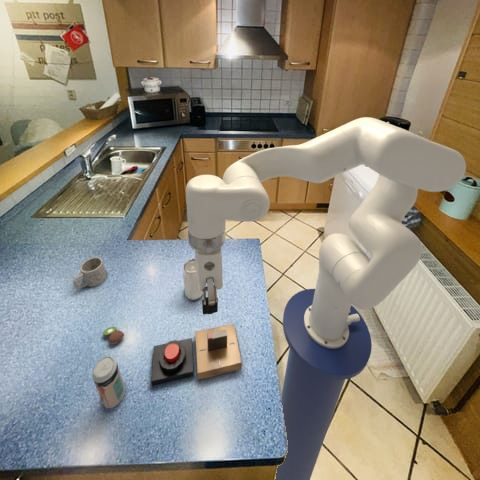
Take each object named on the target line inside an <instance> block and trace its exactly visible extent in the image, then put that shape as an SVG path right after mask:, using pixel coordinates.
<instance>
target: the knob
mask: <svg viewBox="0 0 480 480" xmlns="http://www.w3.org/2000/svg"><path fill="white" fill-rule="evenodd" d="M207 344H208V352H209V351H213V350H217V349H222V348H226V347H227V332H226V330H221V331H216V332H211V333H207Z"/></svg>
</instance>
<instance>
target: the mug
mask: <svg viewBox="0 0 480 480" xmlns="http://www.w3.org/2000/svg"><path fill="white" fill-rule="evenodd" d="M79 268H80V272H79V273H78V274H77V275H76V276H75V278H73V287H74V289H75V290H76V291H77V290H80V289H83V288H84V287H86V286H87V287H91V288H92V287H96V286H98V285H100V284H102V283H103V282H104V281H105V280H106V279H107V272H106V269H105V264H104V261H103V259H102V257H99V256H93V257H90V258H88V259H86V260H84V261H83V263H81V265H80V267H79ZM82 278H83V281H82V282H81V283H80V284H78V281H79V280H80V279H82Z"/></svg>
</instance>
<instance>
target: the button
mask: <svg viewBox="0 0 480 480" xmlns="http://www.w3.org/2000/svg"><path fill="white" fill-rule="evenodd" d="M164 354H165V359H166V361H167V362H168V363H173V362H175V361H176V360H177V359H178V358H179V355H180V352H179V347H178V345H177V344H175V343H172V344H170V345H168V346H167V347H166V349H165V352H164Z"/></svg>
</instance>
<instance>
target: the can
mask: <svg viewBox="0 0 480 480" xmlns="http://www.w3.org/2000/svg"><path fill="white" fill-rule="evenodd" d="M182 277H183V279H182V280H183V287H184V294H185V295H184V296H185V297H186V298H187V299H189V300H193V301H195V300H198V299H200V298H201V297H203V292H202V291H201V290H200V288H199V281H198V275H197V268H196V258H190V259H188V260H186V261H185V262H184V264H183V268H182Z"/></svg>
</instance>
